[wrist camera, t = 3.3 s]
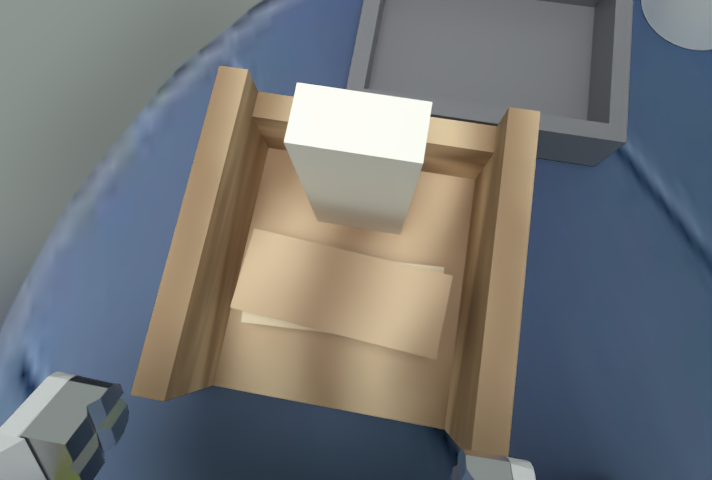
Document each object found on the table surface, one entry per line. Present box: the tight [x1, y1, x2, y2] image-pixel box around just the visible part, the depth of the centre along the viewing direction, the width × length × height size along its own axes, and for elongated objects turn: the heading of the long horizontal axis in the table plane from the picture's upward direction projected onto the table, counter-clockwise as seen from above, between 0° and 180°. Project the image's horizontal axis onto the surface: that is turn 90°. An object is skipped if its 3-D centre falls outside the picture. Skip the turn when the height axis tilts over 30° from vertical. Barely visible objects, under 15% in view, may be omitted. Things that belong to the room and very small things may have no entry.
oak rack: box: [131, 66, 540, 457], centre depth 23 cm, size 16×16×7 cm
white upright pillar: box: [284, 83, 432, 235], centre depth 21 cm, size 5×2×11 cm, turn 80°
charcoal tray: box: [346, 0, 633, 166], centre depth 28 cm, size 16×12×4 cm
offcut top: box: [230, 228, 453, 360], centre depth 21 cm, size 10×4×2 cm, turn 76°
